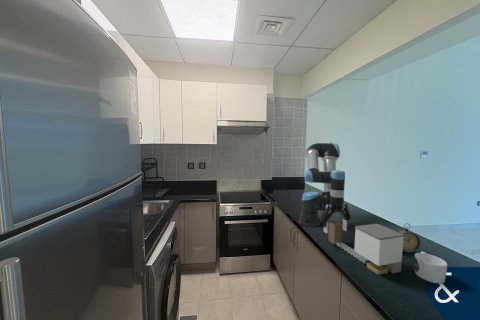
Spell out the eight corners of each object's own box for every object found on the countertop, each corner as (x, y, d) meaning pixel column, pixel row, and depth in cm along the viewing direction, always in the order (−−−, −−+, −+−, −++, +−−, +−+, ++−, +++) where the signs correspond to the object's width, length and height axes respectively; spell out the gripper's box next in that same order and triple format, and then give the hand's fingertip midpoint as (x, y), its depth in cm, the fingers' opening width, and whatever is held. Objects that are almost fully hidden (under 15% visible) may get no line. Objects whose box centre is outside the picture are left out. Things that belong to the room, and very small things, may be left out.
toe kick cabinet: (353, 260, 101) (355, 226, 100) (375, 256, 105) (377, 223, 104) (377, 277, 88) (380, 238, 87) (401, 271, 92) (404, 234, 91)
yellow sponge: (366, 267, 96) (366, 262, 95) (376, 265, 97) (376, 261, 97) (378, 275, 90) (378, 270, 90) (388, 273, 91) (388, 268, 91)
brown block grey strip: (328, 240, 122) (329, 221, 121) (335, 239, 123) (335, 221, 122) (363, 264, 98) (365, 240, 97) (371, 262, 99) (373, 239, 98)
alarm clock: (397, 253, 108) (399, 224, 107) (391, 248, 113) (393, 220, 112) (419, 255, 107) (422, 226, 105) (412, 250, 112) (414, 222, 111)
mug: (451, 287, 82) (453, 268, 82) (419, 280, 86) (421, 262, 86) (434, 268, 95) (435, 252, 94) (407, 263, 99) (408, 248, 98)
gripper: (323, 199, 111) (321, 236, 112) (358, 196, 118) (357, 231, 119) (314, 195, 118) (313, 230, 119) (348, 194, 125) (347, 227, 126)
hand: (335, 231), depth 119 cm, fingers open, 13 cm apart
